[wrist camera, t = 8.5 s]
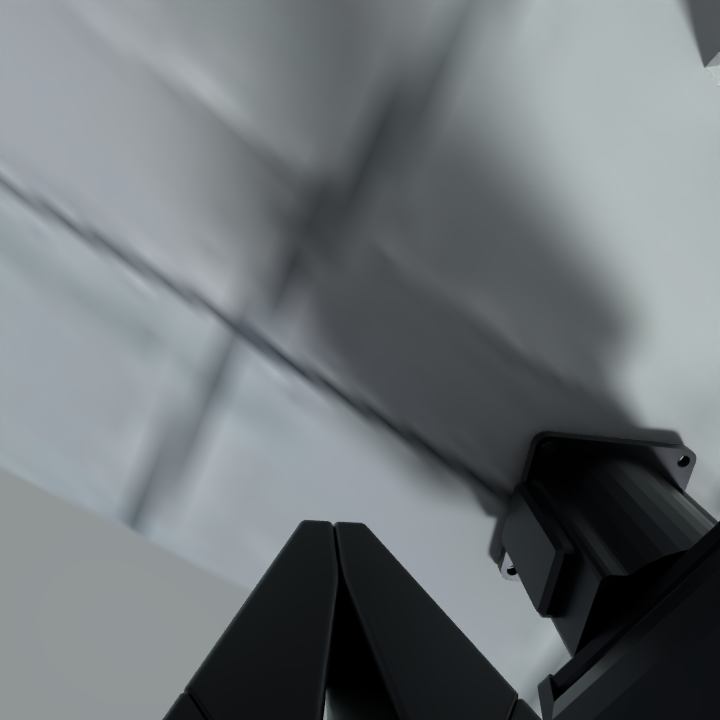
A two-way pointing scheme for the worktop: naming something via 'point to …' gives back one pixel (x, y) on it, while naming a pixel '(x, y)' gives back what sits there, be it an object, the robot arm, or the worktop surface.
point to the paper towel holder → (714, 68)
